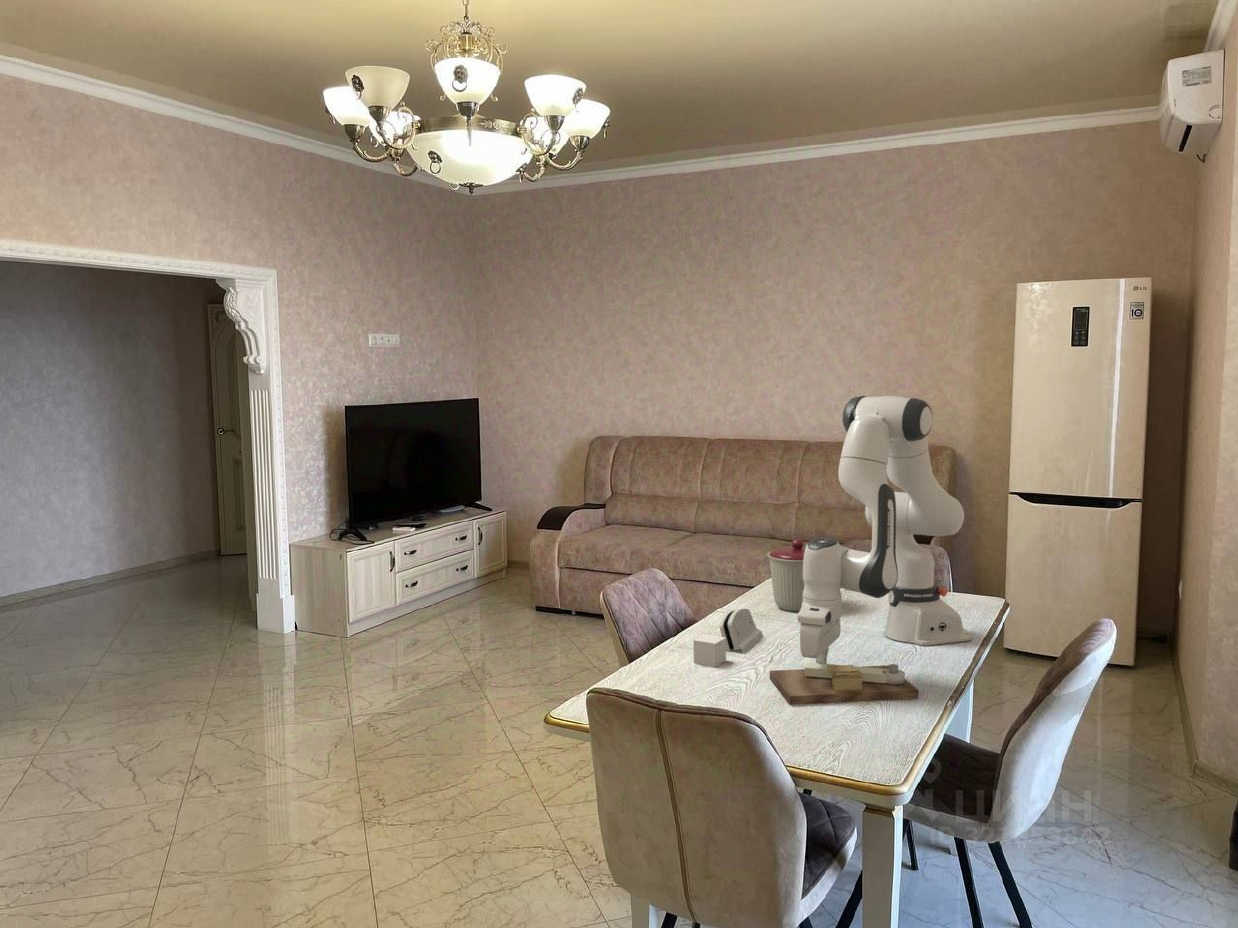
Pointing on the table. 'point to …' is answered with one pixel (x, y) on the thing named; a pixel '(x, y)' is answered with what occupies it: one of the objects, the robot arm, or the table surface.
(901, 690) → the board
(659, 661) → the table surface
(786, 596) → the canister
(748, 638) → the hinge
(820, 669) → the link
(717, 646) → the light grey cube
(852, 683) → the block
